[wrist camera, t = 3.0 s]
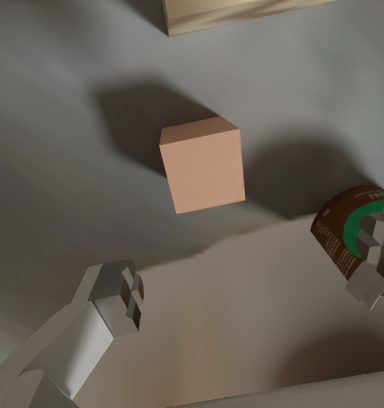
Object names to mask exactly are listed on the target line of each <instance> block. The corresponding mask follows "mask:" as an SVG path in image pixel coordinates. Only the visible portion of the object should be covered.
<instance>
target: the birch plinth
mask: <svg viewBox="0 0 384 408" xmlns="http://www.w3.org/2000/svg"><path fill="white" fill-rule="evenodd" d="M331 1H336V0H162V3H163V9H164V14H165V19H166V24H167V29H168V35H169V37H170V36H175V35H179V34H184V33H189V32H193V31H198V30H202V29H207V28H212V27H216V26H221V25H225V24H230V23H235V22H239V21H244V20H249V19H253V18H258V17H262V16H267V15H272V14H276V13H281V12H285V11H290V10H295V9H299V8H304V7H308V6H313V5H318V4H322V3H327V2H331Z"/></svg>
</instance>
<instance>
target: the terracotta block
mask: <svg viewBox="0 0 384 408" xmlns="http://www.w3.org/2000/svg"><path fill="white" fill-rule="evenodd" d="M159 147H160V151H161V155H162V159H163V162H164V166H165V170H166V174H167V178H168V182H169V186H170V190H171V194H172V197H173V201H174V205H175V209H176V213H177V214H179V213H184V212H189V211H194V210H199V209H204V208H209V207H214V206H219V205H223V204H228V203H233V202H238V201H243V200H245V190H244V178H243V166H242V153H241V141H240V129H239V128H238V127H236V126H235V125H233V124H232V123H230V122H229V121H227V120H226V119H224V118H223V117H221V116H218V117H213V118H209V119H204V120H199V121H194V122H190V123H185V124H180V125H175V126H171V127H166V128H162V133H161V138H160V144H159Z"/></svg>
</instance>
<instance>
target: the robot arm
mask: <svg viewBox="0 0 384 408" xmlns="http://www.w3.org/2000/svg"><path fill="white" fill-rule="evenodd" d="M358 226H359V227H360V228H361V231H360V232H359V233H358V235H357V236H356V241H355V244H356V248H357V251H358V253H359V254H360V256H361V257H362V258H363V259H364V260H365V261H366V262H368V263H371V264H373V265H376V271H377V272H378V273H379V274H380V275H381V276H382V277H383V278H384V212H378V213H373V214H368V215H363V216H362V217H361V219H360V221H359V225H358ZM136 268H137V267H136V264H135V262H134V260H132V259H128V260H122V261H116V262H110V263H105V264H99V265H93V266H90V267H89V268H88V269H87V271H86V273H85V275H84V277H83V279H82V281H81V283H80V286H79V288H78V290H77V292H76V294H75V296H74V298H73V300H72V302H71V304H70V305H66V306H65V307H64V308H62V309H61V310H60V311H59V312H58V313H57V314H56V315H54V316H53V317H52V318H51V319H50V320H49V321H48V322H47V323H45V324H44V325H43V326H42V327H41V328H40V329H39V330H38V331H36V332H35V333H34V334H33V335H32V336H31V337H30V338H29V339H27V340H26V341H25V342H24V343H23V344H22V345H21V346H20V347H18V348H17V349H16V350H15V351H14V352H13V353H12V354H11V355H9V356H8V357H7V358H6V359H5V360H4V361H3V362H2V363H0V408H79V407H78V406H77V405H76V404H75V403H74V402H73V401H72V399H73V398H74V396H75V395H76V393H77V392H78V390H79V389H80V388H81V386H82V385H83V383H84V382H85V380H86V379H87V377H88V376H89V374H90V373H91V371H92V370H93V368H94V367H95V365H96V364H97V362H98V361H99V360H100V358H101V357H102V355H103V354H104V352H105V351H106V349H107V348H108V346H109V345H110V343H111V342H112V340H113V337H116V336H121V335H125V334H130V333H135V332H138V331H139V325H140V319H141V312H140V309H139V306H140V305H141V304H142V303H143V299H144V286H143V282H142V279H141V276H140V275H138V274H136ZM165 408H384V371H383V372H377V373H372V374H366V375H359V376H353V377H347V378H341V379H335V380H329V381H323V382H316V383H310V384H304V385H298V386H293V387H286V388H280V389H274V390H268V391H262V392H256V393H250V394H244V395H238V396H232V397H225V398H220V399H213V400H207V401H201V402H195V403H190V404H183V405H177V406H171V407H165Z"/></svg>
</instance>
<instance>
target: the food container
mask: <svg viewBox="0 0 384 408" xmlns="http://www.w3.org/2000/svg"><path fill="white" fill-rule="evenodd" d="M378 212H384V189H381V188H379V187H374V186H359V187H354V188H351V189H348V190H346V191H344V192H342V193H340V194H338V195H337V196H335V197H334V198H332V199H331V200H330V201H329V202H327V203H326V204H325V205H324V206H323V207H322V209H321V210H320V211H319V212H318V214H317V215H316V217H315V219H314V221H313V223H312V226H311V229H310V231H311V232H312V234H313V235H314V236H315V238H316V239H317V241H318V242H319V243H320V244H321V246H322V247H323V249H324V250H325V251H326V252H327V254H328V255H329V257H330V258H331V259H332V261H333V262H334V263H335V264H336V265H337V267H338V269H339V270H340V271H341V273H342V274H343V275H344V277H345V278H346V279H347V281H348V283H347V285H346V288H345V289H346V290H347V291H348V292H349V293H350V294H351V295H353V296H354V297H355V298H356V299H357V300H358V301H359V302H360V303H361V302H364V303H365V304H366V305H367V307H368V308H369V309H370V310H371V309H372V308H373V306H374V304H375V302H376V301H377V300H378V298H379V297H380V296H383V295H384V278H383V277H382V276H381V275H380V274H379V273H378V272H377V271H376V265H373V264H371V263H368V262H366V261H365V260H364V259H363V258H362V257H361V256H360V254H359V253H358V251H357V248H356V244H355V241H356V236H357V235H358V233H359V232H360V231H361V228H360V227H359V226H358V225H359V221H360V219H361V217H362V216H363V215H368V214H373V213H378Z"/></svg>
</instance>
